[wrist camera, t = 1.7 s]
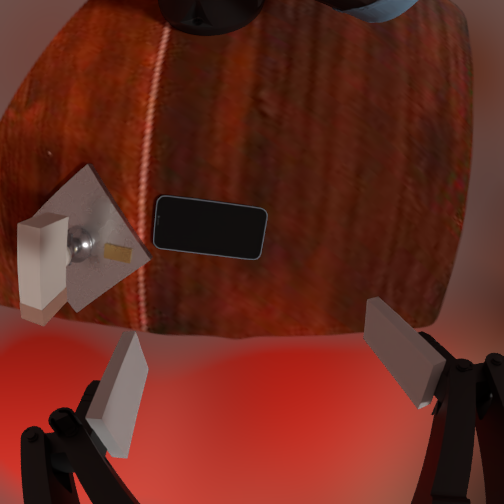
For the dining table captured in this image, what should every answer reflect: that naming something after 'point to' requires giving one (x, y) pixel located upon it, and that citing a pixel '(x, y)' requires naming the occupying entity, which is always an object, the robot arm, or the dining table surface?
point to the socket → (95, 237)
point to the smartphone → (209, 227)
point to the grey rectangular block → (42, 266)
